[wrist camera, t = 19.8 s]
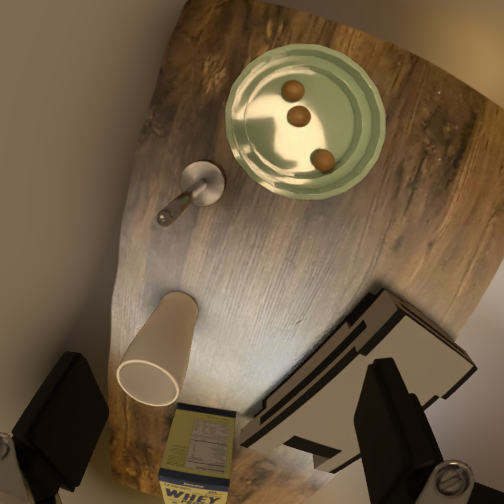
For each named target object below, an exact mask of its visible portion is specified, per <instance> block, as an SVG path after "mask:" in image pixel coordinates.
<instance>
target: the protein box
mask: <svg viewBox="0 0 504 504" xmlns="http://www.w3.org/2000/svg"><path fill="white" fill-rule="evenodd" d="M235 418H236V412H230V411H223V410H216V409H209V408H202V407H196V406H190V405H185V404H179V403H178V404H177V408H176V411H175V415H174V418H173V422H172V425H171V429H170V433H169V436H168V440H167V444H166V448H165V451H164V455H163V459H162V463H161V466H160V470H159V474H158V478H159V482H160V486H161V490H162V493H163V497H164V501H165V504H226V499H227V495H228V490H229V484H230V473H231V460H232V450H233V441H234V429H235Z"/></svg>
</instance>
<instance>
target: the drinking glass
mask: <svg viewBox="0 0 504 504" xmlns="http://www.w3.org/2000/svg"><path fill="white" fill-rule="evenodd" d="M197 317H198V308H197V305H196V303H195V301H194V300H193V299H192V298H191V297H190V296H188V295H186V294H184V293H180V292H172V293H169V294H167V295H165V296H164V297H163V298H162V300H161V301H160V303H159V305H158V306H157V308H156V309H155V311H154V312H153V313H152V315H151V316H150V317H149V319H148V320H147V321H146V323H145V324H144V325H143V327H142V328H141V329H140V331H139V332H138V334H137V335H136V336H135V338H134V339H133V341H132V342H131V344H130V345H129V347H128V349H127V350H126V352H125V354H124V356H123V358H122V360H121V362H120V365H119V367H118V369H117V379H118V382H119V384H120V386H121V387H122V389H123V390H124V391H125V392H126V393H127V394H128V395H129V396H131V397H132V398H134V399H135V400H137V401H139V402H141V403H144V404H147V405H152V406H166V405H169V404H171V403H173V402H174V401H176V399H177V398H178V396H179V393H180V391H181V388H182V385H183V382H184V379H185V376H186V372H187V368H188V363H189V357H190V351H191V345H192V339H193V333H194V328H195V323H196V320H197Z"/></svg>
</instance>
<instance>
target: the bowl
mask: <svg viewBox="0 0 504 504" xmlns="http://www.w3.org/2000/svg"><path fill="white" fill-rule="evenodd" d="M289 80H297V81H299V82H300V83H302V85H303V86H304V89H305V93H304V96H303V97H302V98H301V99H300V100H298V101H295V102H292V101H288V100H287V99H285V98H284V96H283V95H282V86H283V84H284V83H285V82H287V81H289ZM297 105H301V106H304V107H306V108H307V109H308V110H309V111H310V113H311V120H310V122H309V124H308V125H306V126H305V127H295V126H293V125H292V124H291V123H290V121H289V119H288V113H289V111H290V109H291V108H292V107H294V106H297ZM225 123H226V136H227V139H228V141H229V144H230V147H231V149H232V152H233V154H234V157H235V159H236V160H237V162H238V163H239V164H240V165H241V166H242V168H243V169H244V170H245V171H246V173H247V174H248V175H249V176H250V178H252V179H253V180H254V181H256V182H257V183H259V184H260V185H262V186H263V187H265V188H266V189H268V190H269V191H271V192H273V193H275V194H278V195H282V196H285V197H288V198H292V199H295V200H321V199H325V198H329V197H332V196H335V195H338V194H341V193H344V192H346V191H347V190H349V189H350V188H351V187H353V186H354V185H356V184H357V183H358V182H360V181H361V180H363V179H364V178H365V176H366V175H367V174H368V172H369V171H370V170H371V168H372V167H373V166H374V164H375V163H376V161H377V160H378V158H379V155H380V152H381V149H382V146H383V143H384V140H385V133H386V129H385V110H384V107H383V104H382V101H381V97H380V95H379V92H378V89H377V87H376V86H375V85H374V83H373V82H372V80H371V79H370V78H369V76H368V75H367V73H366V72H365V71H364V69H363V68H362V67H360V66H359V65H358V64H356V63H355V62H354V61H352V60H351V59H350V58H348V57H347V56H346V55H344V54H343V53H341V52H338V51H335V50H332V49H329V48H327V47H324V46H321V45H316V44H289V45H286V46H282V47H279V48H276V49H272V50H269V51H267V52H265V53H264V54H262V55H261V56H259V57H258V58H257V59H255V60H254V61H252V62H251V63H249V64H248V65H247V66H246V67H245V68H244V70H243V71H242V73H241V74H240V75H239V77H238V78H237V79H236V81H235V82H234V84H233V85H232V87H231V91H230V94H229V97H228V101H227V104H226V108H225ZM320 150H327V151H329V152H331V153H332V154H333V156H334V158H335V164H334V167H333V168H332V169H331V170H330V171H327V172H321V171H319V170H317V169H316V168H315V167H314V165H313V156H314V155H315V153H316V152H318V151H320Z"/></svg>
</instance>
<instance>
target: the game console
mask: <svg viewBox="0 0 504 504" xmlns="http://www.w3.org/2000/svg"><path fill="white" fill-rule="evenodd" d="M388 357H392V358H393V359H394V361H395V363H396V365H397V368H398V370H399V372H400V374H401V376H402V379H403V381H404V383H405V385H406V388H407V390H408V392H409V393H414V394H415V395H416V396H417V397H418V399H419V401H420V404H421V406H422V408H423V411H424V410H426V409H427V408H428V407H429V406H430V405H432V404H433V403H434V402H435V401H436V400H437V399H438V398H439V397H441V398H443V399H445V400H446V399H447V398H448V397H449V396H450V395H452V394H453V393H454V392H455V391H456V390H457V389H458V388H459V387H460V386H461V385H462V384H463V383H464V382H465V381H466V380H467V379H468V378H469V377H470V376H471V375H472V374H473V373H474V372H475V371H476V370H477V367H476V366H475V364H474V363H473V361H472V360H471V358H470V357H469V356H468V354H467V353H466V352H465V351H464V350H463V349H462V348H461V347H459V346H458V345H457V344H456V343H454V342H453V341H452V340H451V339H450V338H449V337H448V335H447V334H446V333H445V332H444V331H443V330H442V329H440V328H439V327H438V326H437V325H435V324H434V323H433V322H431V321H430V320H429V319H428V318H426V317H425V316H424V315H422V314H421V313H420V312H419V311H417V310H416V309H415V308H413V307H412V306H411V305H409V304H408V303H407V302H405V303H403V302H401V301H400V300H399V299H397V298H396V297H395V296H393V295H392V294H390V293H389V292H388V291H386V290H385V289H384V288H382V289H381V290H380V291H379V292H378V293H377V295H376V296H374V295H373V294H371V293H370V292H369V293H368V294H367V295H366V296H365V297H364V298H363V300H362V301H361V302H360V303H359V304H358V305H357V306H356V307H355V309H354V310H353V311H352V312H351V313H350V314H349V315H348V316H347V317H346V318H345V319H344V321H343V322H342V323H341V324H340V325H339V326H338V327H337V328H336V329H335V330H334V331H333V332H332V333H331V334H330V335H329V337H328V338H327V339H326V340H325V341H324V342H323V343H322V344H321V345H320V346H319V347H318V348H317V349H316V350H315V351H314V352H313V353H312V354H311V355H310V356H309V357H308V358H307V359H306V360H305V361H304V362H303V363H302V364H301V365H300V366H299V367H298V368H297V369H296V370H295V371H294V372H293V373H292V374H290V375H289V376H288V377H287V378H286V379H285V380H284V381H283V382H282V383H281V384H280V385H279V386H278V387H277V388H276V389H275V390H273V391H272V392H271V393H270V394H269V395H268V396H267V397H266V398H265V399H264V400H263V405H262V409H261V410H260V411H259V412H258V413H256V414H255V415H254V419H253V420H252V421H251V422H249V423H248V424H247V425H246V426H245V427H243V428H242V429H241V433H240V446H243V447H246V448H249V449H251V450H254V451H257V452H260V453H263V454H266V455H267V454H268V453H270V452H271V451H273V450H274V449H276V448H277V447H279V446H280V445H282V444H284V445H287V446H290V447H293V448H296V449H299V450H302V451H305V452H308V453H312V454H313V462H314V469H317V470H321V471H325V472H329V473H334V474H335V473H337V472H338V471H340V470H342V469H343V468H345V467H347V466H348V465H350V464H351V463H353V462H355V461H356V460H358V459H359V458H361V454H360V449H359V445H358V440H357V436H356V431H355V427H354V414H355V411H356V407H357V404H358V400H359V397H360V393H361V390H362V386H363V382H364V378H365V375H366V371H367V367H368V365H369V364H373V361H374V359H379V358H388Z"/></svg>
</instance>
